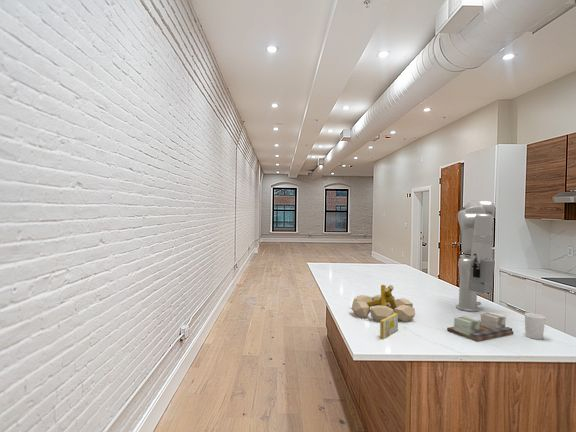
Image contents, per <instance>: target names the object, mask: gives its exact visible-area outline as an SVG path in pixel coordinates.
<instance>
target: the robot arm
mask: <svg viewBox="0 0 576 432" xmlns="http://www.w3.org/2000/svg"><path fill="white" fill-rule="evenodd" d="M464 208H465V209H461V210H459V211H458V213H457V221H458V225H459V228H460V230H461V239H460V240H461V252H462V253H463V254H466V255H470V256H461V257H460V258H459V259H458V263H457V265H458V271H459V286H458V287H459V289H458V290H459V291H458V304H456V305H455V308H456V309H457V310H461V311H463V310H464V312H472V313H473V312H479V311H480V308H479V307H478V306H480V305H482V302H481V301H477V300H478V299H477V298H478V297H477V296H478V292H475V291H471V290H469V278H470V267H471V265H472V268H473V277H477V278H480V269H479V267H480V264H481V263H482V260H493V261H495V259H494V258H493V246H492V245H493V244H492V235H493V226H494V215H495V212H496V206H495V204H494V202H493V201H492V200H487V199H486V200H483V199H482V200H478V199H476V200H469V201H468V202H466V204H465V207H464ZM476 261H478V262H476ZM476 264H478V265H476Z"/></svg>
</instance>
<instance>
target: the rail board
mask: <svg viewBox="0 0 576 432" xmlns="http://www.w3.org/2000/svg"><path fill="white" fill-rule="evenodd" d="M506 320H507V319H506V315H502V314H499V313H495V312H491V311H489V312H483V313H480V320H478V319H475V318H472V317H469V316H465V315H463V316H457V317H454V324H453V325H454V326H449V327H447V328H446V331H447V332H449V333H453V334H454V335H458V336H460V337H463V338H466V339H468V340H470V341H473V342H475V343H476V342H477V343H478V342H484V341H489V340H493V339H497V338H498V339H499V338H503V337H507V336H512V335H514V331H513V328H512V327H509V326H506Z"/></svg>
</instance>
